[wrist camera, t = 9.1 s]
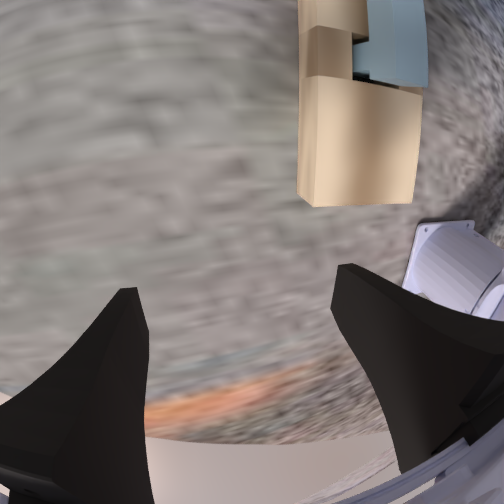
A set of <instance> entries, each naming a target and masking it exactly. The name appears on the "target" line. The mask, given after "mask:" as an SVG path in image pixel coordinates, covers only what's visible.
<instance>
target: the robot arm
mask: <svg viewBox="0 0 504 504" xmlns="http://www.w3.org/2000/svg"><path fill="white" fill-rule="evenodd" d="M474 226H475V222H474V221H473V220H460V221H446V222H432V223H421V224H419V225H418V227H417V230H416V235H415V239H414V243H413V247H412V251H411V255H410V259H409V263H408V267H407V270H406V274H405V278H404V281H403V284H402V287H400V286H398V285H396V284H394V283H392V282H390V281H388V280H386V279H384V278H382V277H380V276H379V275H377V274H375V273H373V272H371V271H369V270H367V269H365V268H363V267H360V266H358V265H356V264H353V263H350V264H342V265H338V269H337V275H336V281H335V287H334V292H333V298H332V303H331V308H330V309H331V311H332V314H333V316H334V318H335V321H336V323H337V325H338V327H339V330H340V331H341V333H342V335H343V336H344V338H345V340H346V341H347V343H348V345H349V346H350V348H351V349H352V351H353V353H354V354H355V356H356V358H357V359H358V361H359V362H360V364H361V366H362V367H363V369H364V371H365V372H366V374H367V376H368V378H369V380H370V382H371V384H372V386H373V388H374V391H375V393H376V395H377V397H378V400H379V402H380V405H381V407H382V410H383V413H384V415H385V418H386V421H387V424H388V427H389V430H390V433H391V436H392V440H393V444H394V448H395V452H396V456H397V460H398V465H399V470H400V472H401V474H402V475H400V476H398V477H396V478H394V479H392V480H389V481H388V482H385V483H383V484H381V485H379V486H376V487H374V488H372V489H370V490H367V491H365V492H362V493H360V494H357V495H355V496H352V497H350V498H347V499H344V500H342V501H339V502H336V503H333V504H388V503H390V502H392V501H394V500H396V499H398V498H400V497H402V496H404V495H405V494H407V493H409V492H411V491H413V490H414V489H416V488H418V487H420V486H421V485H423V484H425V483H426V482H428V481H430V480H431V479H433V478H435V477H436V476H437V477H436V479H435V484H434V485H433V486H432V487H430V488H429V489H427V490H426V491H424V492H422V493H420V494H419V495H417V496H416V497H414V498H412V499H411V500H409V501H407V502H405V503H404V504H504V250H503V249H501V248H500V247H498V246H497V245H495V244H494V243H493V242H491V241H490V240H488V239H487V238H485V237H483V236H482V235H480V234H479V233H477V232H476V231H474V230H473V229H474ZM421 292H423V293H424V294H425V295H426V296H427V297H428V298H429V299H430V300H431V301H429V300H427V299H425V298H422V297H420V296H418V295H416V294H417V293H421ZM148 363H149V330H148V327H147V324H146V320H145V316H144V313H143V309H142V305H141V302H140V298H139V294H138V290H137V287H133V288H121V289H119V291H118V292H117V293H116V294H115V295H114V297H113V298H112V299H111V300H110V302H109V303H108V304H107V305H106V307H105V308H104V309H103V310H102V312H101V313H100V314H99V315H98V317H97V318H96V319H95V320H94V322H93V323H92V324H91V325H90V326H89V328H88V329H87V330H86V331H85V332H84V333H83V334H82V336H81V337H80V338H79V339H78V340H77V341H76V343H75V344H74V345H73V346H72V347H71V348H70V349H69V350H68V351H67V352H66V353H65V354H64V355H63V356H62V357H61V358H60V359H59V360H58V361H57V362H56V363H55V364H54V365H53V366H52V367H51V368H50V369H48V370H47V371H46V372H45V373H44V374H42V375H41V376H40V377H39V378H38V379H37V380H35V381H34V382H33V383H32V384H31V385H29V386H28V387H27V388H25V389H24V390H23V391H21V392H20V393H19V394H17V395H16V396H14V397H13V398H11V399H10V400H8V401H7V402H5V403H4V404H2V405H0V484H2V485H3V486H5V487H7V488H8V489H10V492H9V497H8V496H6V495H4V494H2V493H0V504H155V503H154V499H153V495H152V489H151V483H150V477H149V471H148V463H147V455H146V445H145V430H144V406H145V393H146V383H147V373H148Z"/></svg>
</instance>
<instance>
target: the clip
mask: <svg viewBox="0 0 504 504" xmlns="http://www.w3.org/2000/svg"><path fill="white" fill-rule="evenodd" d="M367 11H368V26H369V42H364V43H360V44H356V45H353V46H352V76H356V77H362V78H370V79H372V80H377V81H381V82H386V83H390V84H394V85H398V86H407V87H426V88H428V48H427V32H426V20H425V11H424V3H423V0H367Z"/></svg>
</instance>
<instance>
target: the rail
mask: <svg viewBox="0 0 504 504" xmlns="http://www.w3.org/2000/svg"><path fill="white" fill-rule="evenodd" d="M298 26H299V137H298V171H297V194H299V195H300V196H301V197H302V198H303V199H305V200H306V201H307V202H308V203H309V204H310V205H312V206H313V207H323V206H343V205H367V204H399V203H412V197H413V191H414V184H415V178H416V170H417V162H418V153H419V144H420V132H421V118H422V95H423V87H407V86H398V85H394V84H390V83H386V82H381V81H377V80H374V84H370V83H365V82H360V81H354V80H352V44H353V45H356V44H360V43H364V42H369V26H368V11H367V0H298Z"/></svg>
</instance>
